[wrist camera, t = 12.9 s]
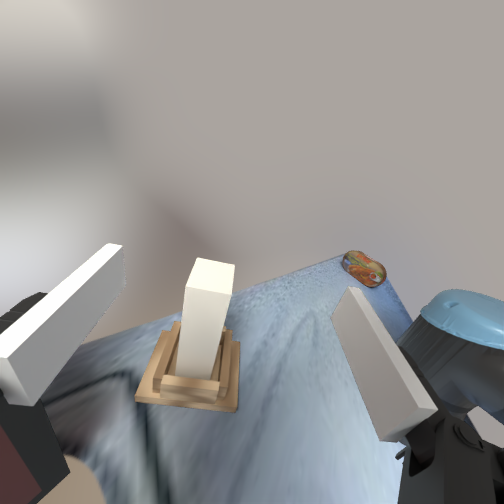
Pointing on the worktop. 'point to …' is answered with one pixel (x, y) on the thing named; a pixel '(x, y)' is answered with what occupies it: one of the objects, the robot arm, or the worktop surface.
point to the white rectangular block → (203, 317)
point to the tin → (364, 268)
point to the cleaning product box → (28, 454)
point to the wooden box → (190, 389)
